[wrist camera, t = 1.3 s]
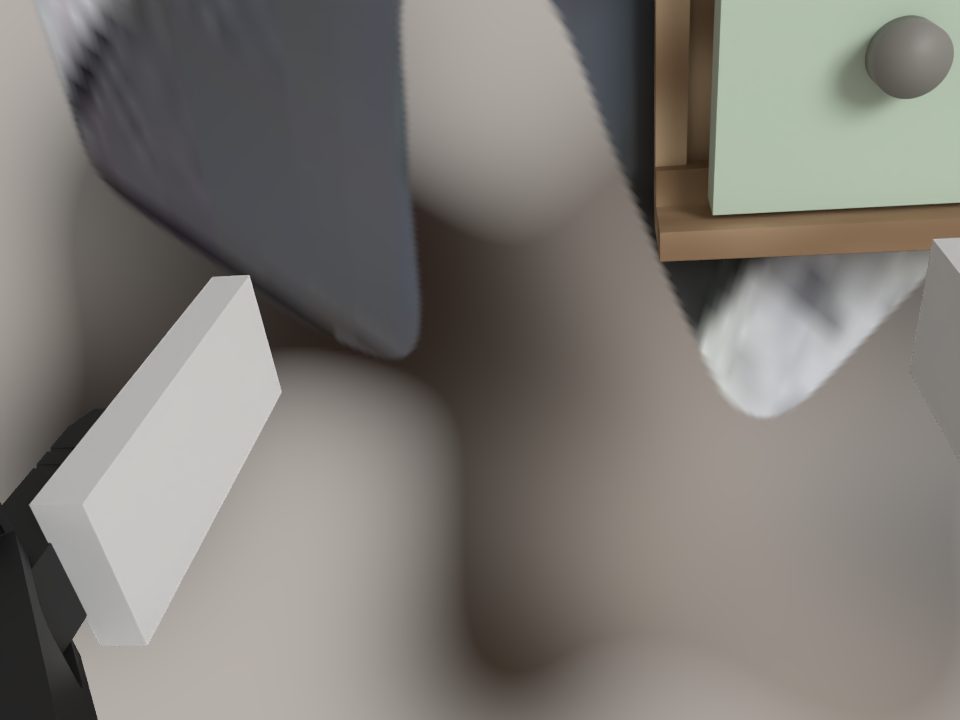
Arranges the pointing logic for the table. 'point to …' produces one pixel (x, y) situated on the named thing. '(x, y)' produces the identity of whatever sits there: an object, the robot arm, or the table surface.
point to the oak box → (685, 170)
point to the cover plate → (834, 104)
